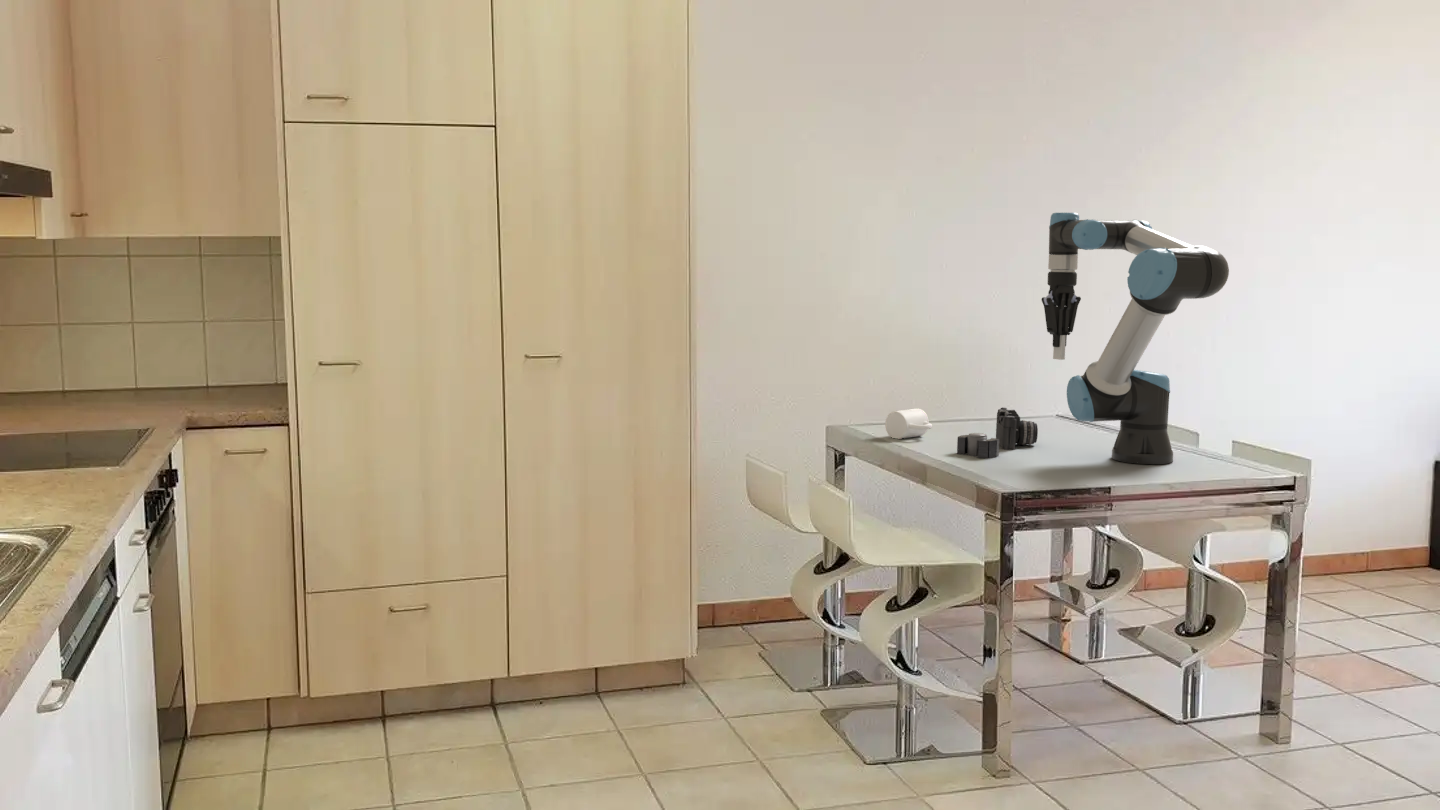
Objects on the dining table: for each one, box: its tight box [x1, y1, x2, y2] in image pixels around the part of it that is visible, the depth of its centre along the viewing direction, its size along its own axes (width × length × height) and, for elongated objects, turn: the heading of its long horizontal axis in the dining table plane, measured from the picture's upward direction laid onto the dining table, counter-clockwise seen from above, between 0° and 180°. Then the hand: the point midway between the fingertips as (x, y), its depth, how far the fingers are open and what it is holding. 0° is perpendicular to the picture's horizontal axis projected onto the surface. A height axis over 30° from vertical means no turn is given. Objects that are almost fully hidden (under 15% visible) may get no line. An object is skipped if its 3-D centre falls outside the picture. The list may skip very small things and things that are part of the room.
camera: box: [995, 407, 1039, 451], centre depth 364 cm, size 14×11×10 cm
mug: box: [884, 408, 933, 440], centre depth 375 cm, size 12×10×8 cm
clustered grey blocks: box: [956, 434, 1000, 459], centre depth 349 cm, size 11×7×4 cm
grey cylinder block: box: [966, 432, 988, 457], centre depth 349 cm, size 5×5×5 cm
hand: (1058, 359), depth 356 cm, fingers closed
